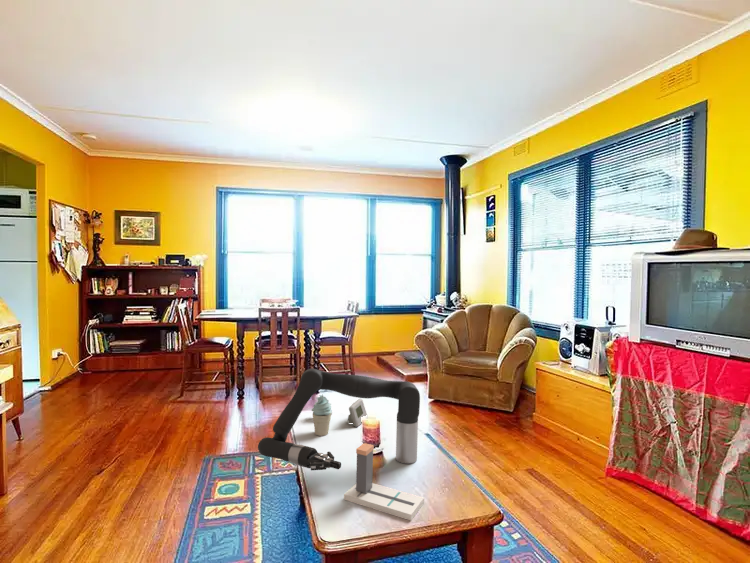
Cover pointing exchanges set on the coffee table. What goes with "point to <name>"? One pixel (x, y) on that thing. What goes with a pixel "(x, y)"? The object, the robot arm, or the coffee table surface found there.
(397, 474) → the coffee table surface
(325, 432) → the ice cream cone
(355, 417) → the digital clock
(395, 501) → the plate
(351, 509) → the coffee table surface
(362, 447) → the post
